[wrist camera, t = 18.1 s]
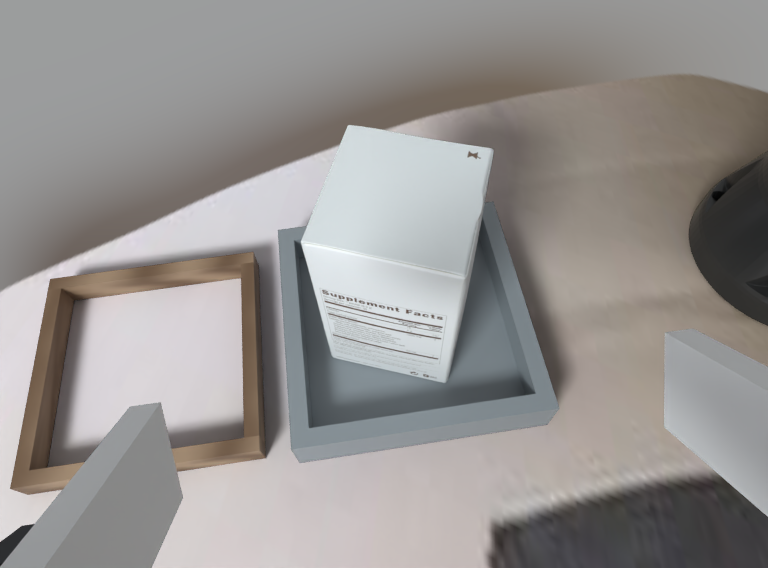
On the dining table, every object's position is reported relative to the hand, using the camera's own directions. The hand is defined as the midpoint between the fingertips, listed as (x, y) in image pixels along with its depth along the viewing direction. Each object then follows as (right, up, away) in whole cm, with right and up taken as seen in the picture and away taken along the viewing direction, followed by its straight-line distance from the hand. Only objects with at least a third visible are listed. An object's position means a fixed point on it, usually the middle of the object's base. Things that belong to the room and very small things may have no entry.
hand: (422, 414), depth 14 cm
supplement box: (0, +1, +28) cm, 28 cm away
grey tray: (+1, 0, +29) cm, 29 cm away
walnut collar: (-18, -3, +28) cm, 33 cm away
